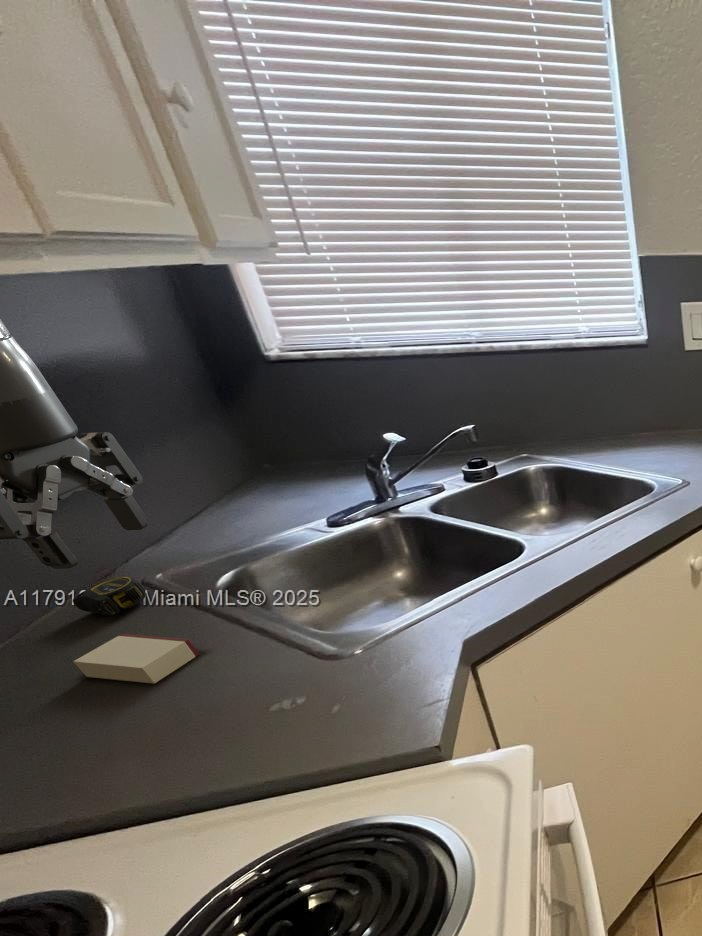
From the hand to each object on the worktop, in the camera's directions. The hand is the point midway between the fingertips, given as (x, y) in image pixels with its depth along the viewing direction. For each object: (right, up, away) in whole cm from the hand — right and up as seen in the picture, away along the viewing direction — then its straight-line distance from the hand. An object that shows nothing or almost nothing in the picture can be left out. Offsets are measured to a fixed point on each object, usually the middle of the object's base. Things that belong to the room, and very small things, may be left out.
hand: (103, 546), depth 67 cm
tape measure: (-29, -7, +28) cm, 41 cm away
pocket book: (-12, -14, +16) cm, 24 cm away
